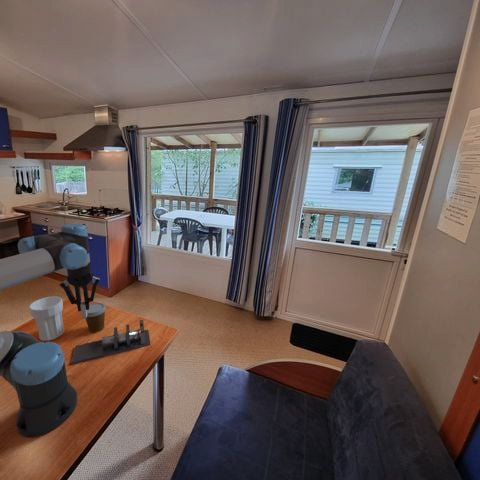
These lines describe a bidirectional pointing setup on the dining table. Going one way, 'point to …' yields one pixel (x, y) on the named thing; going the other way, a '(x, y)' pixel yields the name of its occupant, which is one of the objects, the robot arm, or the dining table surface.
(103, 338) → the tube
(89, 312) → the disposable coffee cup
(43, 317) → the cup
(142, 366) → the dining table surface
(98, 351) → the collar rail
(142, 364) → the dining table surface
